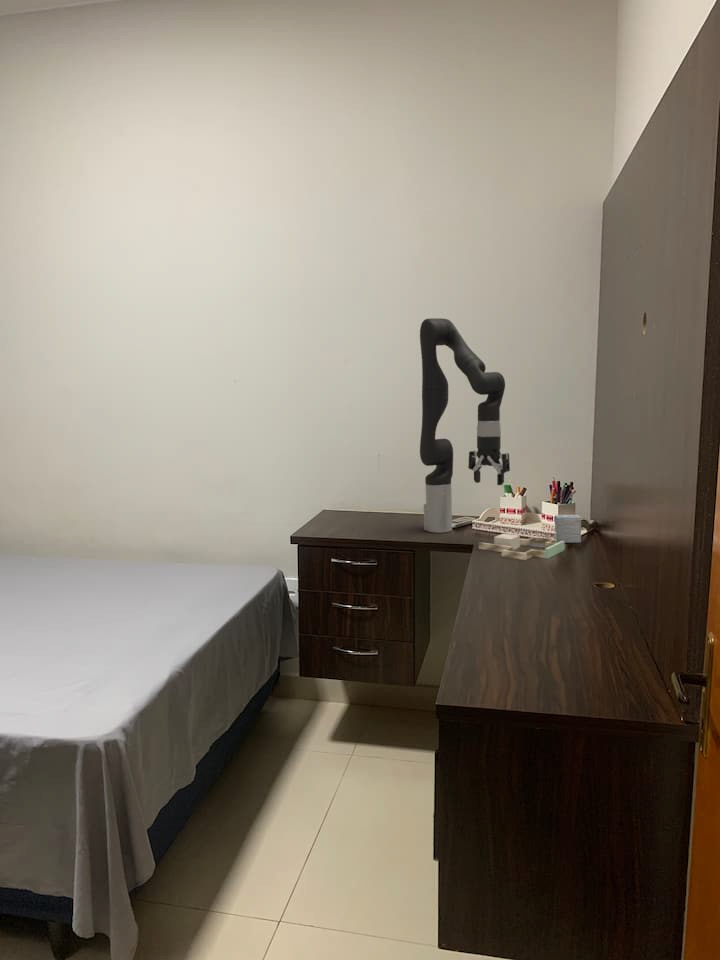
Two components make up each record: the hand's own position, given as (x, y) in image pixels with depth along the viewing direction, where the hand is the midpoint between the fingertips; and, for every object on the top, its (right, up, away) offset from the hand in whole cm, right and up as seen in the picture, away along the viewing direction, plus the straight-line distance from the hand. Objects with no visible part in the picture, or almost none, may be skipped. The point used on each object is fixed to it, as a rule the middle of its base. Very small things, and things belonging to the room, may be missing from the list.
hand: (488, 483), depth 242 cm
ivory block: (+6, -21, -2) cm, 22 cm away
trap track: (+10, -21, -6) cm, 24 cm away
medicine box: (+27, -19, +3) cm, 33 cm away
